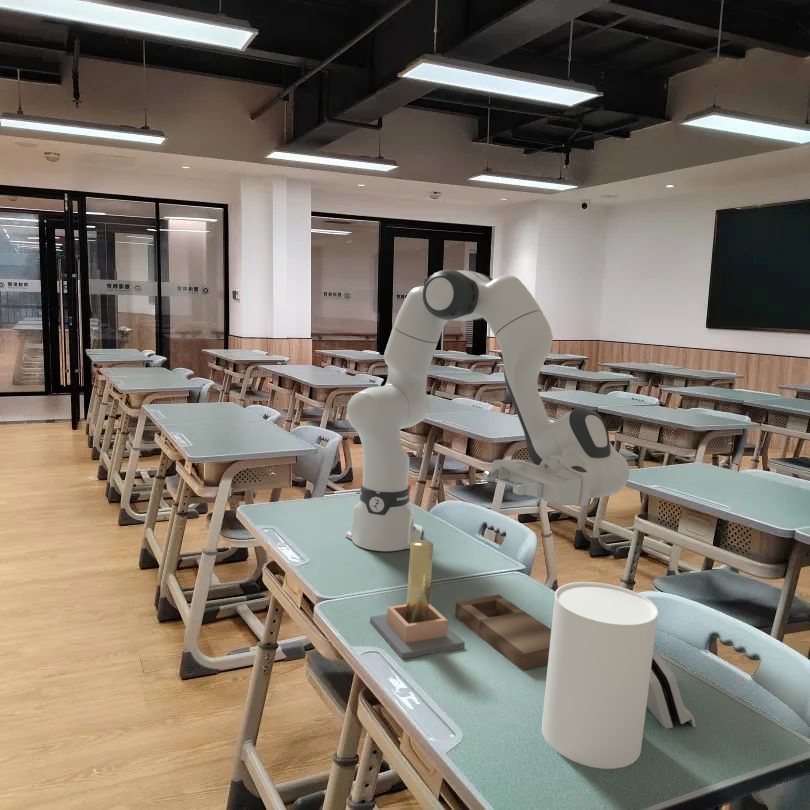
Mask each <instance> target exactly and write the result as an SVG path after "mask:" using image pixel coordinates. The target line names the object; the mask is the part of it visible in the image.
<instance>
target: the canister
mask: <svg viewBox="0 0 810 810" xmlns="http://www.w3.org/2000/svg"><path fill="white" fill-rule="evenodd" d="M658 613H659V610H658V608H657V606H656V604H655V603H654V602H653V601H651V599H649V598H647V597H646V596H644V595H642V594H640V593H638V592H636V591H633V590H631V589H628V588H625V587H623V586H622V587H621V586H619V585H614V584H609V583H603V582H597V581H596V582H593V581H577V582H576V581H575V582H570V583H567V584H562V585H561V586H559V587H558V588H557V589H556V590H555V592H554V599H553V611H552V619H551V620H552V621H551V628H550V629H551V639H550V649H549V658H548V665H547V669H546V671H547V672H546V679H545V680H546V682H545V690H544V699H543V710H542V720H541V733H542V735H543V738H544V740H545V741H546V743H547V744H548V745H549V746H550V747H551V748H552V749H553V750H554V751H555V752H557V753H558V754H559V755H561V756H562V757H564V758H565V759H568V760H569V761H572V762H575V763H577V764H579V765H581V766H582V765H583V766H586V767H590V768H594V769H604V770H606V769H607V770H612V769H613V770H615V769H621V768H624V767H628V766H629V765H632V764H634V762H637V760H638V759H639V758H640V755H641V752H642V744H643V736H644V730H645V729H644V728H645V722H646V721H645V720H646V714H647V713H646V712H647V698H648V689H649V681H650V673H651V665H652V657H653V649H655V648H654V647H655V640H656V632H657V623H658V616H659V614H658Z"/></svg>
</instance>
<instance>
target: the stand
mask: <svg viewBox="0 0 810 810" xmlns="http://www.w3.org/2000/svg"><path fill="white" fill-rule="evenodd" d="M406 605H407V603H406V604H399V605H392V606H387V609H386V610H387V614H382V615H381V614H380V615H376V616H375V615H374V616H370V617H369V623H370V624H371V625H372V626H373V627H374V628H375V629H376V631H377V632H378V633H379V634H380V635H381V636H382V638H383V639H384V640H385V641H386V643H388V645H389V646H390V647H391V648H392V650H394V652H395V653H396V654H397V655H398V657H400V658H401V659H402V660H403V659H409V658H415V657H419V656H425V655H431V654H436V653H437V654H438V653H442V652H449V651H453V650H459V649H464V648H465V645H466V643H465V642H466V641H464V640H463V639H462V638H461V637H459V636H458V634H456V633H455V632H454V631H453V629H451V628H450V627H449V626H448V619H447V618H446V617H445V616H444V615H443V614H442V613H440V612H439V610H437V609H436V608H435V607H434V606H433V605H432V604H430V603H429V612H428V621H424V622H417V623H411V624H408V623H407V622H406V621H405V620H406Z"/></svg>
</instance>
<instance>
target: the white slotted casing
mask: <svg viewBox="0 0 810 810" xmlns="http://www.w3.org/2000/svg"><path fill="white" fill-rule="evenodd" d="M646 708H648V709H649V711H650V712H651V714H653V716H654V718H656V720H659V721H658V722H659V723H660V724H661V726H662V727H663V726H664V727H665V728H664V727H663V728H664V729H671V728H674V726H673V725H675V722H676V723H680V724H681V725H683V724H685V723H687V722H688V723H689V724H690V725H691V726H692V727H693V728H697V725H696V720H695V716H694V714H692V713H691V711H690V710H689V709H688V708H687V707H686V706H685V705H684V702H683V698H682V695H681V691H680V688H679V685H678V681H677V679H676V677H675V675H674V673H673V672H672V670H671V669H670V667H669V666H668V664H667V663H666V662H665V660H664V659H663V658H662V657H661V655H660V654H659V653H658V651H657V650H656V649H655V648H654V649H653V657H652V665H651V673H650V681H649V689H648V698H647V706H646Z"/></svg>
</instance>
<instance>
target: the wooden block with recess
mask: <svg viewBox="0 0 810 810" xmlns="http://www.w3.org/2000/svg"><path fill="white" fill-rule="evenodd" d="M454 607H455V608H454V609H455V610H454V617H455V618H456V619H457V620H458V619H459V620H458V621H460V622H461V623H462V622H463V623H464V624H463V623H462V624H463V625H465V626H466V627H467V628H468V627H469V628H468V629H470V630H471V631H472V632H473V631H474V632H473V633H475V634H476V635H477V634H478V635H477V636H479V637H480V638H481V639H482V640H483V641H485V642H486V643H487V644H488V645H489V646H491V647H493V648H494V649H495V651H497V652H498V653H500V654H502V655H503V657H505V659H506V658H507V660H509V661H510V662H511V663H513V664H514V665H515V666H517V667H518V668H519V669H520V670H521V671H527V670H531V669H535V668H539V667H543V666H548V658H549V649H550V639H551V629H552V628H550V627H548V626H547V625H545V624H544V623H542V622H541V621H539V620H538V619H536V618H535V617H533V616H532V615H530V614H529V613H528V612H526V611H524V609H521V608H520V607H518V606H517V605H515V604H514V603H512V602H511V601H509V600H508V599H506V598H505V597H503V596H502V595H500V594H499V593H498V594H492V595H487V596H481V597H476V598H471V599H464V600H459V601H455V606H454ZM494 614H495V616H494ZM488 615H489V616H491V617H488Z"/></svg>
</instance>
